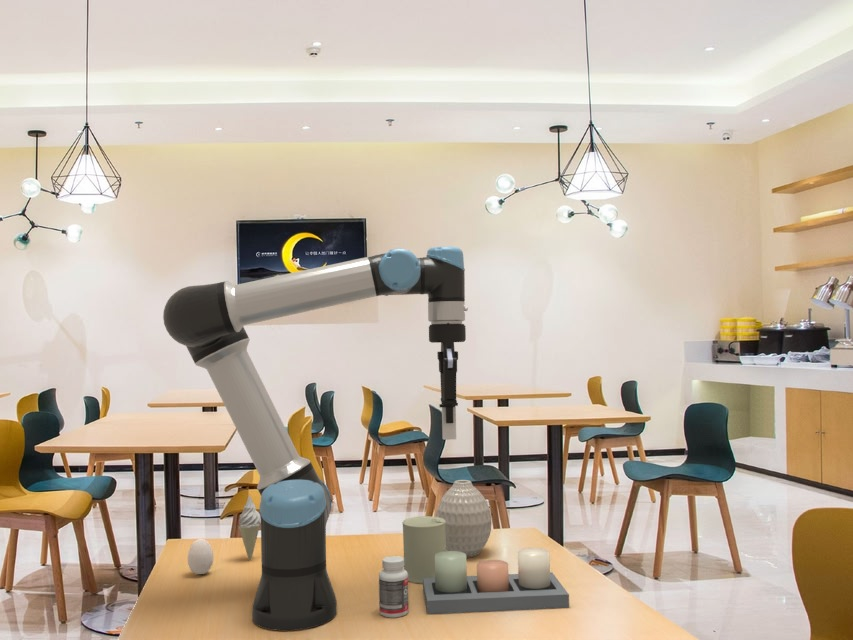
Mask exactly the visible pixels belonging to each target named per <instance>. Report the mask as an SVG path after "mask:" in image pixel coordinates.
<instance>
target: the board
mask: <svg viewBox="0 0 853 640" xmlns="http://www.w3.org/2000/svg"><path fill="white" fill-rule="evenodd" d="M422 592H423V596H424V597H423V598H424V603H425V606H426V612H427V613H426V614H427V615H439V614H440V615H442V614H461V613H462V614H463V613H482V612H483V613H485V612H502V611H503V612H504V611H527V610H528V611H529V610H542V609H543V610H546V609H547V610H548V609H550V610H551V609H565V608H566V609H567V608H570V594H569V592H568V591H567V589H566V588H564V586H563V584H562V583H561V582H560V581H559V579H558V578H557V577H556V575H555V574H554V573H553V572H551V571H550V586H548V587H546V588H540V589H531V588H525V587H522V586H520V585H519V576H518V573H510V574H509V591H508V592H486V593H477V575H467V589H465V590H463V591H460V592H453V593H448V592H441V591H438V590H437V589H436V588H435V578H423V584H422Z"/></svg>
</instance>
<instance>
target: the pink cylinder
mask: <svg viewBox="0 0 853 640" xmlns="http://www.w3.org/2000/svg"><path fill="white" fill-rule="evenodd" d="M476 576H477V593H486V592H508V591H509V563H508V562H507V561H505V560H502V559H484V560H480V561H478V562H477V563H476Z"/></svg>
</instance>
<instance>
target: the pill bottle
mask: <svg viewBox="0 0 853 640" xmlns="http://www.w3.org/2000/svg"><path fill="white" fill-rule="evenodd" d="M381 565H382V566H381V567H382V570H381V571H380V572H378V573H379V574H378V600H379V601H378V602H379V603H378V607H379V613H380V615H381V616H383V617H385V618H400V617H404V616H406V615H407V614H408V613H409V610H410V609H409V607H410V606H409V605H410V604H409V601H410V600H409V597H410V596H409V581H408V573H407V571H406V570H404V565H405V564H404V556H403V557H402V556H398V555H391V556H386V557H384V558H382V562H381Z"/></svg>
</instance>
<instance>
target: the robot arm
mask: <svg viewBox="0 0 853 640" xmlns="http://www.w3.org/2000/svg"><path fill="white" fill-rule="evenodd" d="M465 271H466V269H465V262H464V252H463V250H462V249H461V248H459V247H456V246H435V247H430V248H428V250H427V252H426V257H425V256H424V257H417V256H416V255H415V253H413V252H412V251H410V250H409V249H406V248H394V249H390V250H388V251H387V252H385V253H381V254H376V255H372V256H365V257H361V258H356V259H351V260H347V261H343V262H342V261H341V262H338V263H333V264H328V265H324V266H319V267H314V268H310V269H306V270H300V271H299V270H298V271H295V272H290V273H286V274H281V275H277V276H272V277H267V278H263V279H262V278H261V279H258V280H257V279H256V280H254V281H249V282H243V283H238V284H233V283H232V282H230V281H228V280H225V281H222V282H221V281H220V282H217V283H208V284H203V285H201V284H200V285H199V284H198V285H190V286H185V287H182V288H180V289H179V290H177V291H175V292H174V293H173V294H171V296H170V297H169V298H168V299H167V301H166V304H165V305H164V309H163V315H162V316H163V317H162V318H163V325H164V327H165V329H166V332H167V333H168V335H169V336H170V337H171V338H172V339H173V340H174V341H176V342H177V343H178V344H180V345H183V346H185V347H186V349H187V351H188V354H189V355H190V357H191V358H192V360H193V363H194V364H195V366H198V367H200V368H203V369H205V370H206V371H207V372H208V375H209V377H210V378H211V381H212V383H213V385H214V387H215V388H216V390H217V393H218V395H219V397H220V399H221V401H222V403H223V405H224V407H225V409H226V411H227V413H228V415H229V418H230V420H231V421H232V423H233V424H234V427H235V429H236V431H237V433H238V435H239V437H240V439H241V441H242V443H243V445H244V446H245V449H246V451H247V453H248V455H249V457H250V459H251V460H252V463H253V464H254V466H255V469H256V471H257V473H258V475H259V480H258V484H257V486H256V489H257V491H258V494H259V495H260V502H259V513H260V518H261V523H260V524H261V525H260V536H261V537H260V545H261V546H260V551H261V552H260V553H261V554H260V555H261V575H260V580H259V582H258V586H257V590H256V593H255V596H254V600H253V603H252V608H251V609H252V610H251V611H252V622H253V623H254V625H256V626H258V627H259V628H263V629H267V630H272V631H297V630H305V629H310V628H314V627H317V626H318V627H319V626H320V625H323V624H325V623H328V622H330V621H332V620H333V619H334V618H335V617H336V615H337V613H338V610H337V609H338V605H337V604H338V603H337V601H338V600H337V597H336V594H335V591H334V588H333V585H332V583H331V580H330V577H329V573H328V570H327V536H326V535H327V533H326V531H327V522H328V520H329V517H330V514H331V511H332V500H331V499H332V496H331V492H330V490H329V488H328V486H327V484H325V482H324V480H322V479H321V478H320V477H319V476H318V473H317V472H316V470H315V468H314V466H313V464H312V462H311V460H310V459H309V458H306V457H302V456H300V455H299V453H298V451H297V448H296V447H295V445H294V443H293V441H292V438H291V437H290V434H289V433H288V431H287V429H286V426H285V425H284V423H283V421H282V419H281V417H280V414H279V413H278V412H279V411H278V410H277V409H276V407H275V404H274V402H273V400H272V398H271V397H270V394H269V393H268V391H267V389H266V387H265V385H264V382H263V381H262V379H261V377H260V374H259V372H258V370H257V368H256V366H255V365H254V362H253V360H252V358H251V356H250V355H249V353H248V346H249V343H250V337H249V335H248V333H247V331H246V329H245V327H244V326H247V325H251V324H255V323H261V322H265V321H270V320H274V319H279V318H283V317H288V316H292V315H297V314H302V313H306V312H310V311H315V310H319V309H324V308H329V307H333V306H337V305H342V304H343V305H344V304H347V303H351V302H352V303H353V302H355V301H356V302H357V301H360V300H364V299H369V298H374V297H379V296H385V297H387V296H388V297H389V296H401V295H402V296H404V295H405V296H407V295H427V297H428V298H427V299H428V301H427V319H428V322H431V324H429V326H428V341H429V343H432V344H433V343H438V344H439V343H440V351H437V353H436V354H437V360H438V372H439V373H440V397H441V398H440V404H439V405H438V406H439V408H441V421H442V422H441V429H442V432H441V433H442V440H445V441H448V440H457V409H456V407H458V406H459V402H458V400H457V373H458V360H459V351H456V350H455V343H463V342H465V341H466V336H467V335H466V333H467V332H466V331H467V329H466V325H465V323H463V322H464V321H466V313H465V312H467V311H469V307H468V306H466V303H465V298H466V296H465V295H466V294H465V293H466V292H465V291H466V289H465V284H466V283H465V277H466V275H465Z"/></svg>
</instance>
